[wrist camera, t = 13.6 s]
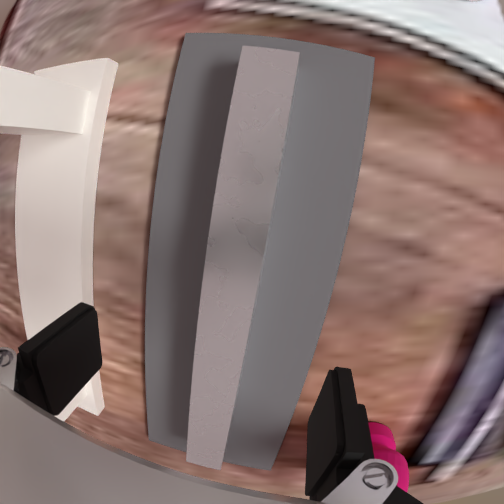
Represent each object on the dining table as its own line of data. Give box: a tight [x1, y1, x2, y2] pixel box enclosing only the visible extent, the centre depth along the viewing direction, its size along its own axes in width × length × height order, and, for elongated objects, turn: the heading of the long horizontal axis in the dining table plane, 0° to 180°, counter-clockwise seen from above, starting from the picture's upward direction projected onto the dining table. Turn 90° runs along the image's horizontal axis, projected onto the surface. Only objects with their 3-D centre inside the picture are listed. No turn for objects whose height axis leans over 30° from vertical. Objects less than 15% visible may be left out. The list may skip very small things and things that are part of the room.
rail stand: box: [0, 58, 118, 421], centre depth 15 cm, size 30×8×12 cm, turn 170°
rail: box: [186, 46, 300, 470], centre depth 18 cm, size 30×3×2 cm, turn 170°
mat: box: [145, 33, 375, 470], centre depth 20 cm, size 34×12×1 cm, turn 170°
